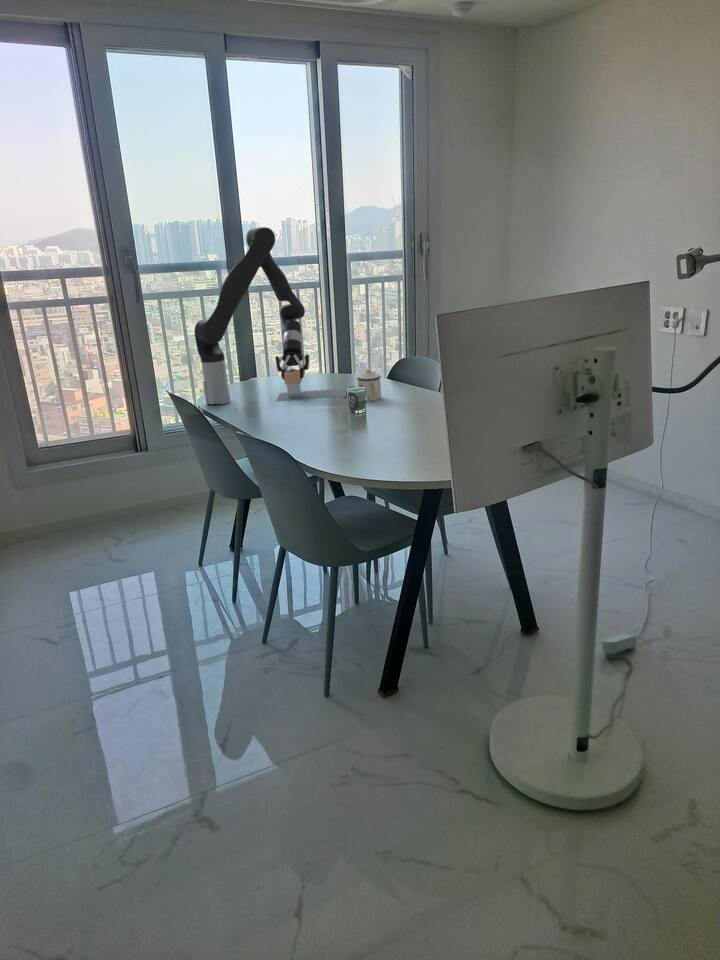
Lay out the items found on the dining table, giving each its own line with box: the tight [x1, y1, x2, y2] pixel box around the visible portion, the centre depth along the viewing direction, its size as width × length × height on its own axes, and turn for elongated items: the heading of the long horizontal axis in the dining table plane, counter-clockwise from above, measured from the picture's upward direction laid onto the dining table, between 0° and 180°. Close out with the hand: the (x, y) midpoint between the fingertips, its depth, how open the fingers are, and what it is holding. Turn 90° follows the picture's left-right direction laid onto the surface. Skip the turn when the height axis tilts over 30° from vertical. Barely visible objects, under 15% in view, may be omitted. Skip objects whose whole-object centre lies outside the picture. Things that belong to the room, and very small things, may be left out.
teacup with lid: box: [356, 368, 382, 402], centre depth 253 cm, size 12×9×12 cm
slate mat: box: [276, 388, 347, 402], centre depth 268 cm, size 28×14×1 cm, turn 90°
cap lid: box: [284, 368, 303, 386], centre depth 265 cm, size 6×6×5 cm
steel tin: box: [286, 383, 302, 398], centre depth 266 cm, size 5×5×9 cm
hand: (292, 378), depth 264 cm, fingers closed on cap lid, 6 cm apart
